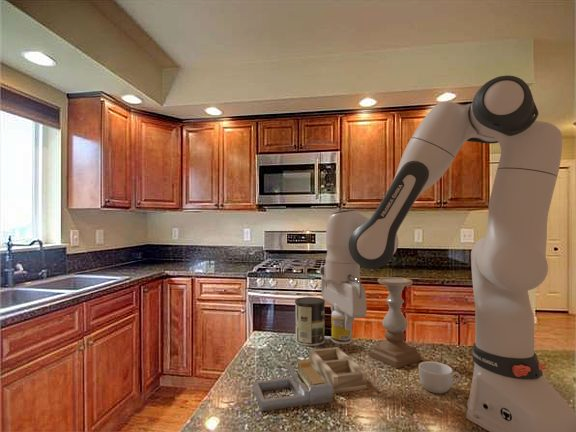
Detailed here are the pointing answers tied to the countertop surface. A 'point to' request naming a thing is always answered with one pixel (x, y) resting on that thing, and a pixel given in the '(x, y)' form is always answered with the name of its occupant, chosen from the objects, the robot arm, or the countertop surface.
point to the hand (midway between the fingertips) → (342, 325)
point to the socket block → (301, 392)
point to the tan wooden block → (308, 374)
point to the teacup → (436, 376)
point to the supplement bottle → (340, 327)
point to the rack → (338, 370)
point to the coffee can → (309, 321)
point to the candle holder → (395, 328)
